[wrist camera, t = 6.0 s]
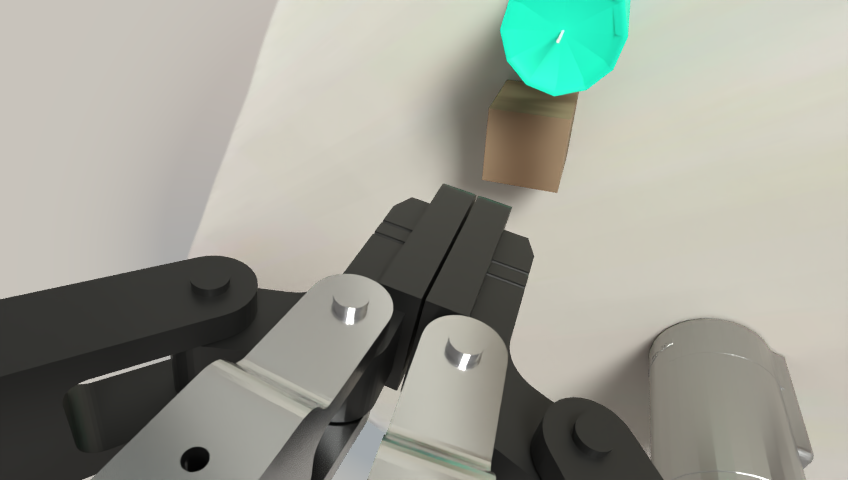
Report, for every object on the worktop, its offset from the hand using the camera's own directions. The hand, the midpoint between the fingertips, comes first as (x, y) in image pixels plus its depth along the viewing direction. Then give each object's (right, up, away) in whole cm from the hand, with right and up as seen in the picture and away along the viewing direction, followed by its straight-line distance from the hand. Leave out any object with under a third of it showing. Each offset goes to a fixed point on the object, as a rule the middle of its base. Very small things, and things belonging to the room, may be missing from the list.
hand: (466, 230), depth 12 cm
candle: (+9, +15, +23) cm, 29 cm away
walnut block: (+7, +9, +28) cm, 30 cm away
